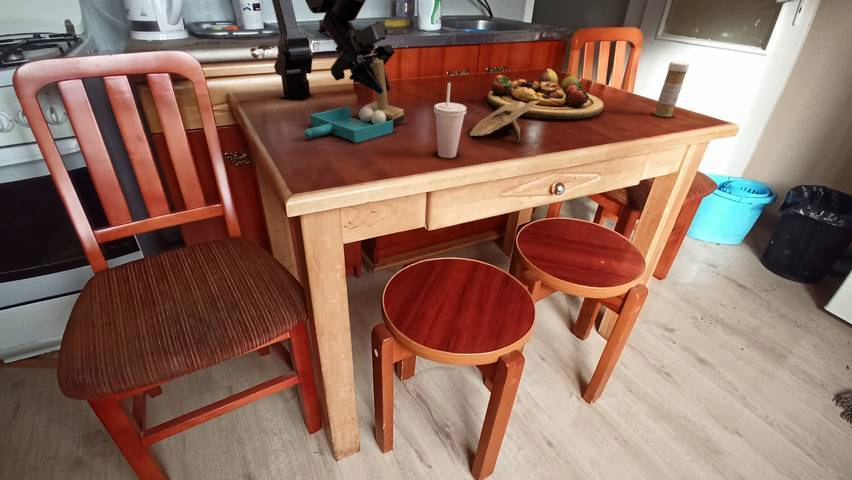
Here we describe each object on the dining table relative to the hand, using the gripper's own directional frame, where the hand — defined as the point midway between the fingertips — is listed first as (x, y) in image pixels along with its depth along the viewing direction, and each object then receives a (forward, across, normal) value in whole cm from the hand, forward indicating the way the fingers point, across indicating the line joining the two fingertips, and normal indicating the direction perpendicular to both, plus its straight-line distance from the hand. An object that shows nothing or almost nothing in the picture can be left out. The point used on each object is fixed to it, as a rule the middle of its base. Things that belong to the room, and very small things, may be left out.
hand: (385, 91), depth 106 cm
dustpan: (+2, -12, +8) cm, 15 cm away
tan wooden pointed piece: (+24, +7, -13) cm, 29 cm away
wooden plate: (+25, +40, -13) cm, 49 cm away
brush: (+4, +1, +6) cm, 7 cm away
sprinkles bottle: (+46, +51, -34) cm, 77 cm away
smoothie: (+22, -11, -10) cm, 26 cm away
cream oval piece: (+3, -5, +4) cm, 7 cm away
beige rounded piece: (0, -4, +6) cm, 8 cm away
